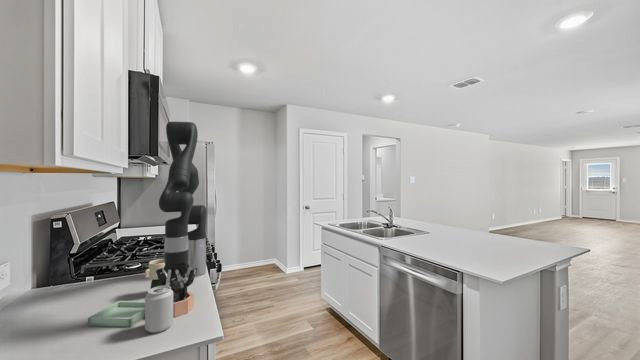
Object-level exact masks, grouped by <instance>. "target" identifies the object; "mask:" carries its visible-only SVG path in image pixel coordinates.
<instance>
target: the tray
mask: <svg viewBox="0 0 640 360" xmlns="http://www.w3.org/2000/svg"><path fill="white" fill-rule="evenodd" d="M143 318H144V319H145V300H144V301H142V300H117V301H115V302H113V303H112V304H110V305H108V306H107V307H104V308H103V309H101V310H100V311H98V312H96V313H94V314H93V315H90V316H89V317H87V326H89V327H119V326H121V327H122V328H123V327H124V328H125V327H126V328H129V327H130V328H132V327H133V326H134V325H136V324H137V323H138V322H140V321H141V320H143Z"/></svg>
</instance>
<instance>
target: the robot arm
mask: <svg viewBox="0 0 640 360" xmlns="http://www.w3.org/2000/svg"><path fill="white" fill-rule="evenodd" d="M165 131H166V139H167V143H168V146H169V150H170V155H171V158H172V162H171V164H170V166H169V170H168V177H167V182H166V184H165V188H163V191H162V193H161V195H160V197H159V199H158V208H159V209H160V210H161V212H164V213H180V216H178V217H174V218H170V219H167V220H166V221H165V223H164V228H165V229H164V232H165V233H164V242H163V243H164V245H163V251H164V254H163V256H164V258H163V259H164V263H165V266H164V268H159V269H158V270H156V273H157V276H158V279H159V282H160V285H161V286H170V287H171V289H172V281H173V280H174V279H175V278H177V279H178V282H180V286H181V288H180V298H181V299H183V298H184V297H185V296H186V295H187V291H188V287H190V286H191V285H193V282H194V281H195V277H199V276H202V275H204V274H206V271H207V241H206V240H207V238H206V237H207V234H206V233H207V213H208V212H207V207H206V206H205V205H204V204H203V205H202V204H201V205H199V204H198V205H194V196H193V195H194V193H195V192H196V190H197V188H198V187H199V184H200V180H199V179H200V177H199V171H198V169H197V167H196V166H195V165H194V163H193V159H194V155H195V152H196V147H197V143H198V137H199V136H198V128H197V125H196V124H195V123H194V122H191V121H169V122H167V124H166V126H165ZM182 145H183V146H184V148H183V149H182V148H181V146H182ZM190 225H197V227H196V228H195V229H193V230H190V231H189V226H190ZM165 272H166V273H167V277H166V274H165Z"/></svg>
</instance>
